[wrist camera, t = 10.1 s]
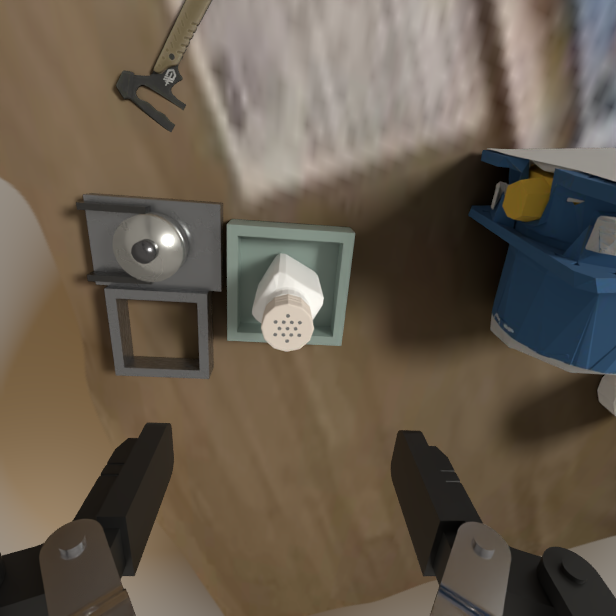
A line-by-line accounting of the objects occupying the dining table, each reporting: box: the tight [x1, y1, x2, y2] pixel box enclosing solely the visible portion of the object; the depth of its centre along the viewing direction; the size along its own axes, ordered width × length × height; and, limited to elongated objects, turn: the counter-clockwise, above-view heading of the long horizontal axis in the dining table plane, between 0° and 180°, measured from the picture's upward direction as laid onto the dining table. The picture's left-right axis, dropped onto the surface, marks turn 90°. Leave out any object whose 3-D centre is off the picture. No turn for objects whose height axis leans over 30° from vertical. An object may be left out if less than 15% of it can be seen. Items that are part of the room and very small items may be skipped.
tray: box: [227, 219, 355, 346], centre depth 30 cm, size 10×10×3 cm
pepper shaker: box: [252, 253, 324, 352], centre depth 26 cm, size 4×4×10 cm
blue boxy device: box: [468, 148, 616, 375], centre depth 25 cm, size 13×15×15 cm
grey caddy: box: [76, 193, 224, 379], centre depth 29 cm, size 15×10×4 cm, turn 176°
